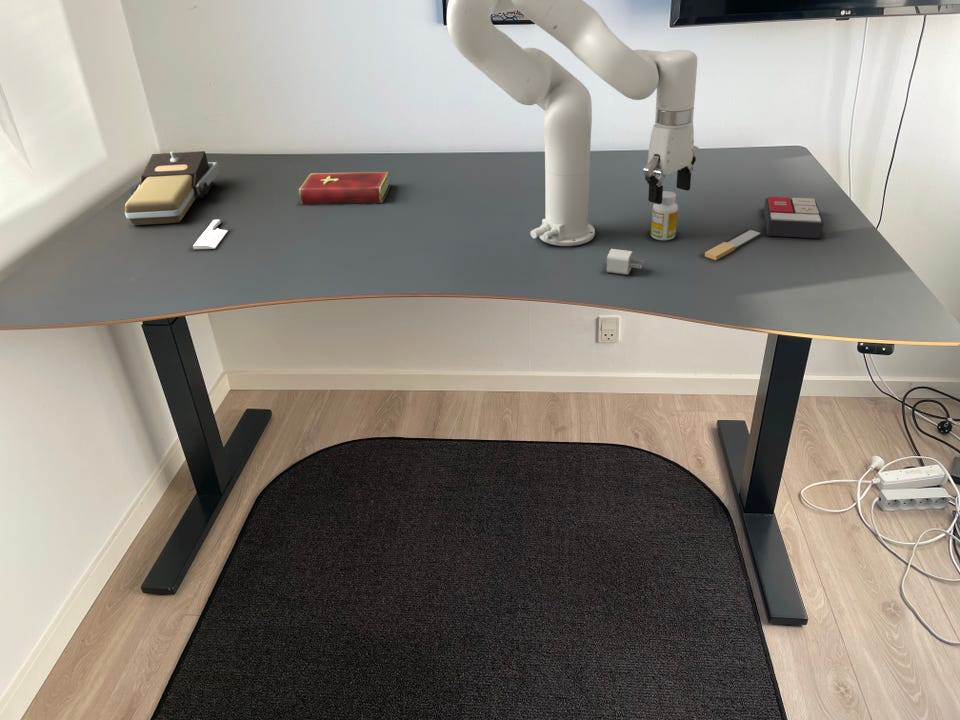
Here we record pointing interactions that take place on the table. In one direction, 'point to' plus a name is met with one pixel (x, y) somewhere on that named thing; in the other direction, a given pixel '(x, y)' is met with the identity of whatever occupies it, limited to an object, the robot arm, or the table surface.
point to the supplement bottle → (664, 217)
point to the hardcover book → (344, 188)
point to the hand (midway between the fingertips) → (669, 195)
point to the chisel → (731, 245)
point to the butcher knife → (210, 237)
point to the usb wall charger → (621, 262)
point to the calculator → (792, 217)
